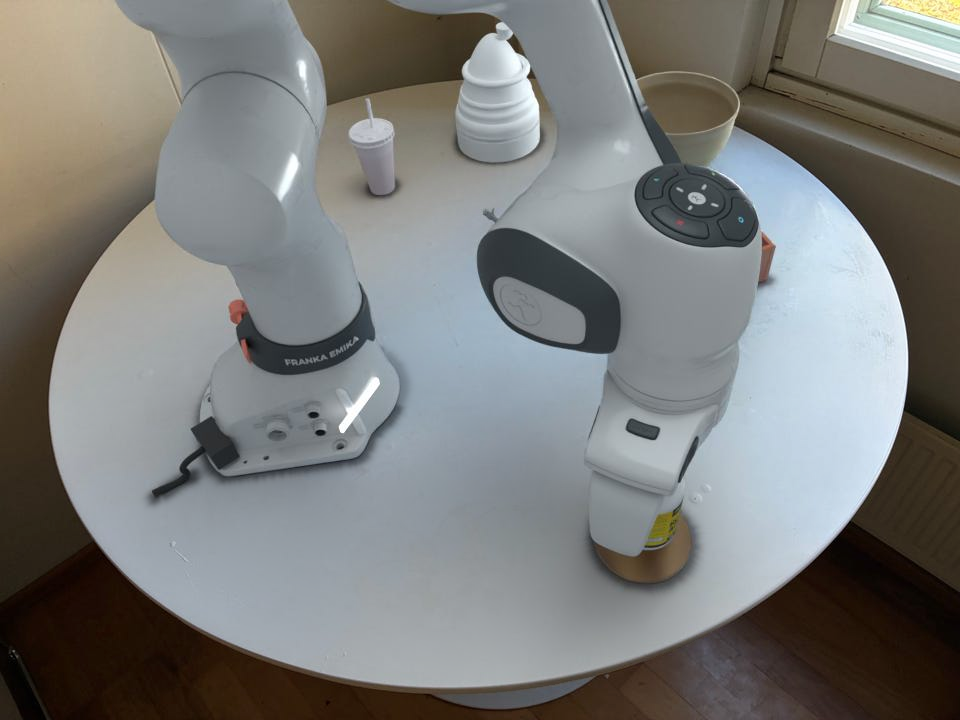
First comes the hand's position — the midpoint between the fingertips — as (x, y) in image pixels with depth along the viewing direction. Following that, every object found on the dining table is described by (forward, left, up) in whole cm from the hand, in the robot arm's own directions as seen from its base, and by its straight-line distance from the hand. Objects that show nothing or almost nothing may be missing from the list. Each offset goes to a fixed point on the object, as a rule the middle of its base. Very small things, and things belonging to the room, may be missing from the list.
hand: (651, 483), depth 65 cm
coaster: (0, 0, -10) cm, 10 cm away
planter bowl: (+30, +52, -10) cm, 61 cm away
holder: (+26, +30, -10) cm, 41 cm away
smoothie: (-10, +65, -10) cm, 67 cm away
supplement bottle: (0, 0, -7) cm, 7 cm away
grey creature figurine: (+3, +45, -10) cm, 47 cm away
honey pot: (+10, +70, -10) cm, 72 cm away
